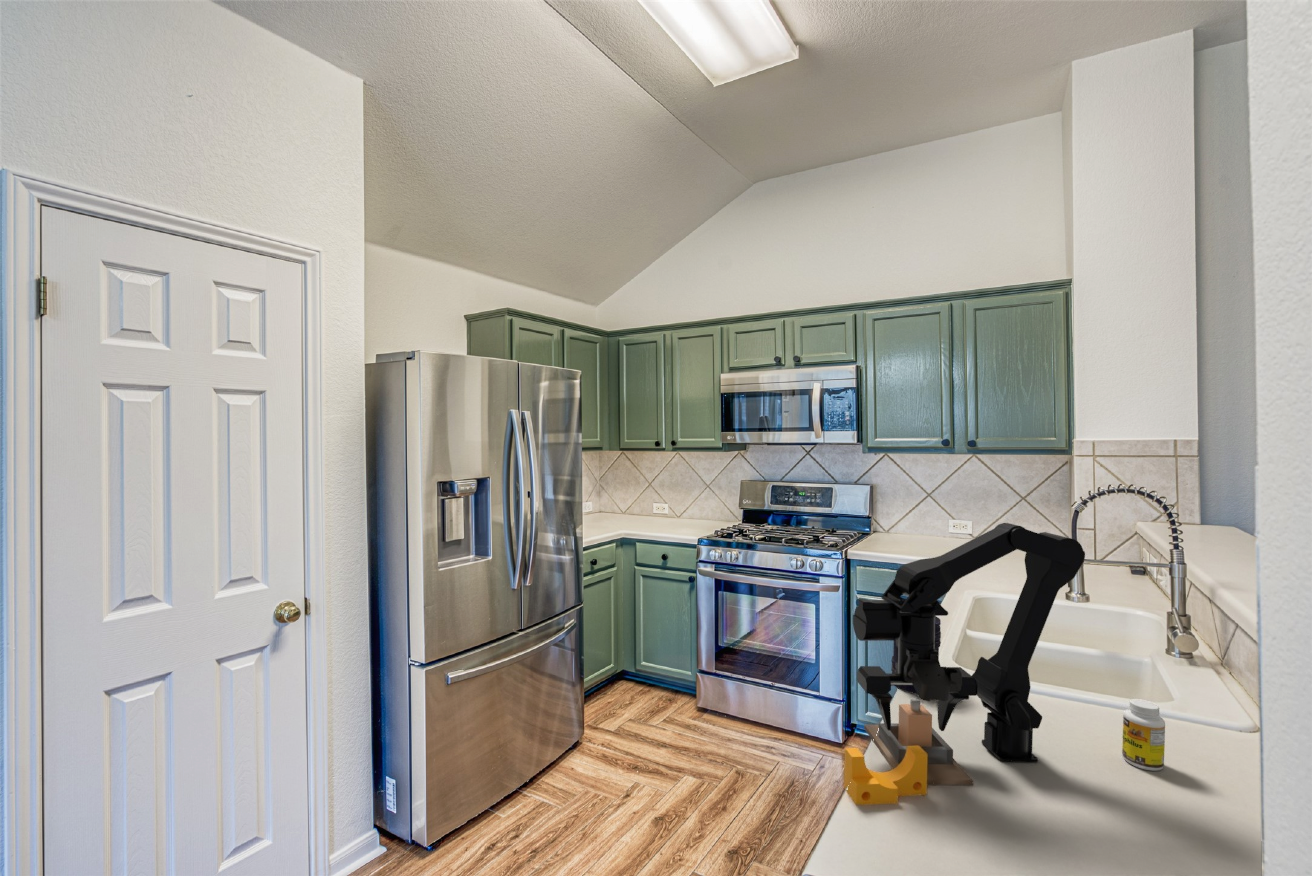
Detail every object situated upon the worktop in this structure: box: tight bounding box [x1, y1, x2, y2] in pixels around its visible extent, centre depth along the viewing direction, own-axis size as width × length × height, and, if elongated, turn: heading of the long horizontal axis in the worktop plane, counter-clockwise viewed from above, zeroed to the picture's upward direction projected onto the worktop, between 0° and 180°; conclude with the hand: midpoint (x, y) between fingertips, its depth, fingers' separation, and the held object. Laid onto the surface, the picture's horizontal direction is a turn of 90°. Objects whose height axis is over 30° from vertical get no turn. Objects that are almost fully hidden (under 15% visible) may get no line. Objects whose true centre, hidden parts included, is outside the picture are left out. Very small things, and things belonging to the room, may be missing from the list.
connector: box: [898, 697, 933, 747], centre depth 106 cm, size 4×4×9 cm
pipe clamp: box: [843, 745, 928, 806], centre depth 94 cm, size 12×4×6 cm, turn 96°
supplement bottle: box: [1121, 698, 1166, 772], centre depth 104 cm, size 6×6×10 cm
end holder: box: [863, 722, 974, 786], centre depth 106 cm, size 11×18×3 cm, turn 0°
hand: (914, 729), depth 106 cm, fingers open, 9 cm apart
